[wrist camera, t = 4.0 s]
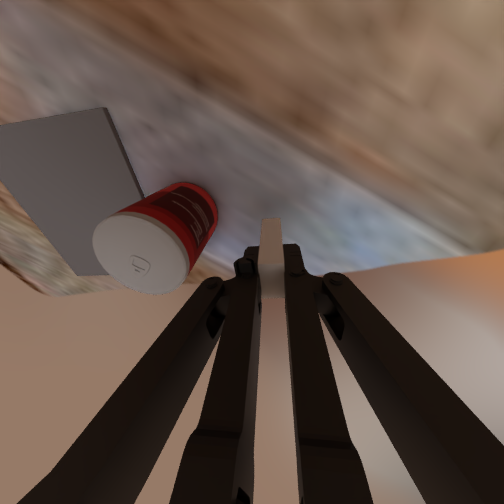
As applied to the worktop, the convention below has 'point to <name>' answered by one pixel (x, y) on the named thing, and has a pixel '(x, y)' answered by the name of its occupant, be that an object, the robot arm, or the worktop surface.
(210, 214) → the canned food
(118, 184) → the rubber mat
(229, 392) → the robot arm
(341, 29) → the worktop surface
